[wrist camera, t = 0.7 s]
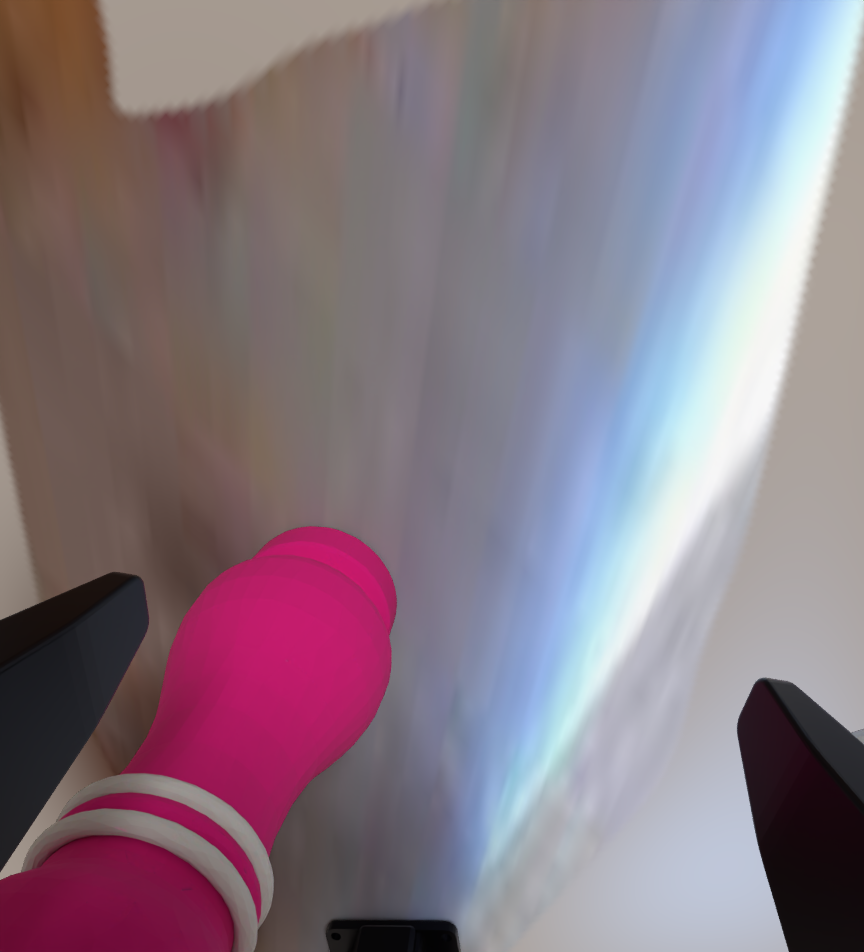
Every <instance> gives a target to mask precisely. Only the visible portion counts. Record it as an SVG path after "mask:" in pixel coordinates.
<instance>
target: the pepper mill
mask: <svg viewBox="0 0 864 952" xmlns="http://www.w3.org/2000/svg"><path fill="white" fill-rule="evenodd" d="M396 607H397V598H396V591H395V587H394V583H393V580H392V578H391V576H390V574H389V571H388V570H387V568H386V567H385V565H384V564H383V562H382V561H381V559H380V558H379V557H378V556H377V555H376V554H375V553H374V552H373V551H372V550H371V549H370V548H369V547H368V546H367V545H365V544H364V543H363V542H361V541H360V540H359V539H357V538H355V537H353V536H351V535H349V534H346V533H344V532H342V531H339V530H336V529H332V528H327V527H312V526H309V527H301V528H296V529H293V530H289V531H286V532H284V533H282V534H280V535H278V536H277V537H275V538H273V539H272V540H270V541H269V542H268V543H267V544H266V545H265V546H263V547H262V549H261V550H260V551H259V552H258V553H257V554H256V555H255V556H254V557H253V558H252V559H251V560H246V561H244V562H242V563H240V564H237V565H235V566H233V567H231V568H230V569H228V570H226V571H225V572H223V573H222V574H220V575H219V576H218V577H217V578H216V579H214V580H213V581H212V582H211V583H210V584H208V585H207V587H206V588H205V589H204V591H203V592H202V593H201V595H200V596H199V597H198V599H197V600H196V601H195V603H194V604H193V605H192V607H191V608H190V609H189V611H188V612H187V614H186V615H185V616H184V619H183V621H182V623H181V625H180V627H179V629H178V632H177V634H176V637H175V639H174V642H173V644H172V647H171V649H170V653H169V657H168V661H167V665H166V670H165V676H164V681H163V686H162V691H161V696H160V701H159V705H158V710H157V714H156V717H155V719H154V722H153V724H152V726H151V728H150V731H149V733H148V735H147V738H146V739H145V741H144V742H143V744H142V745H141V747H140V748H139V750H138V751H137V753H136V754H135V756H134V757H133V759H132V760H131V762H130V763H129V765H128V766H127V767H126V768H125V769H124V770H123V771H122V772H121V773H120V774H119V775H117V776H111V777H107V778H104V779H102V780H99V781H97V782H94V783H92V784H90V785H88V786H87V787H85V788H84V789H82V790H80V791H79V792H78V793H77V794H76V795H75V796H74V797H72V798H71V799H70V800H69V801H68V802H67V804H66V805H65V807H64V808H63V810H62V812H61V813H60V815H59V817H58V819H57V821H56V823H55V824H53V825H52V826H50V827H49V828H47V829H46V830H45V831H44V832H43V833H42V834H41V835H40V836H39V837H38V838H37V839H36V840H35V842H34V843H33V845H32V846H31V847H30V849H29V851H28V853H27V855H26V857H25V860H24V863H23V867H22V870H21V873H18V874H14V875H10V876H8V877H6V878H4V879H2V880H0V952H254V949H255V947H256V943H257V930H258V929H259V927H260V926H261V925H262V923H263V922H264V920H265V919H266V917H267V914H268V912H269V910H270V907H271V904H272V898H273V891H274V877H273V871H272V866H271V863H270V860H269V855H270V852H271V849H272V846H273V843H274V840H275V837H276V835H277V833H278V831H279V829H280V827H281V825H282V823H283V821H284V819H285V817H286V816H287V814H288V812H289V810H290V808H291V806H292V804H293V803H294V802H295V800H296V799H297V798H298V796H299V795H300V794H301V792H302V791H303V790H304V788H305V787H306V786H307V784H308V783H309V782H310V781H311V780H312V779H313V778H314V777H316V776H317V775H318V774H320V773H321V772H322V771H324V770H325V769H327V768H328V767H329V766H330V765H332V764H333V763H334V762H335V761H336V760H338V759H339V758H340V757H341V756H342V755H343V754H344V753H345V752H346V751H348V750H349V749H350V748H351V747H352V746H353V745H354V744H355V742H356V741H357V740H358V739H359V737H360V736H361V735H362V734H363V733H364V731H365V730H366V729H367V728H368V726H369V725H370V723H371V721H372V720H373V718H374V717H375V715H376V712H377V710H378V708H379V706H380V703H381V701H382V699H383V696H384V694H385V691H386V688H387V686H388V683H389V678H390V672H391V645H390V639H389V635H390V632H391V629H392V626H393V623H394V619H395V615H396Z"/></svg>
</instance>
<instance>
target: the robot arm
mask: <svg viewBox="0 0 864 952" xmlns="http://www.w3.org/2000/svg"><path fill="white" fill-rule="evenodd" d="M148 625H149V614H148V608H147V601H146V594H145V588H144V583H143V580H142V579H141V578H140V577H139V576H137V575H132V574H126V573H120V572H112V573H109V574H106V575H104V576H102V577H99V578H97V579H95V580H92V581H90V582H88V583H85V584H83V585H81V586H78V587H76V588H74V589H71V590H69V591H67V592H64V593H62V594H60V595H57V596H55V597H53V598H51V599H48V600H46V601H44V602H41V603H39V604H37V605H34V606H32V607H30V608H27V609H25V610H23V611H20V612H18V613H16V614H13V615H11V616H9V617H6V618H4V619H2V620H0V872H1V870H2V869H3V867H4V866H5V864H6V863H7V861H8V860H9V858H10V857H11V855H12V853H13V852H14V851H15V849H16V848H17V846H18V845H19V843H20V842H21V840H22V839H23V837H24V836H25V834H26V833H27V831H28V830H29V828H30V826H31V825H32V823H33V822H34V821H35V819H36V818H37V816H38V814H39V813H40V812H41V810H42V809H43V807H44V805H45V804H46V802H47V801H48V799H49V798H50V796H51V795H52V793H53V792H54V790H55V789H56V787H57V786H58V784H59V783H60V781H61V780H62V778H63V777H64V775H65V774H66V772H67V771H68V769H69V768H70V766H71V765H72V763H73V762H74V760H75V759H76V757H77V756H78V754H79V753H80V751H81V750H82V748H83V746H84V745H85V744H86V742H87V741H88V739H89V738H90V736H91V734H92V733H93V731H94V730H95V728H96V726H97V725H98V723H99V721H100V720H101V718H102V716H103V714H104V712H105V711H106V709H107V707H108V705H109V703H110V701H111V699H112V697H113V696H114V694H115V692H116V690H117V688H118V686H119V684H120V682H121V680H122V678H123V677H124V675H125V673H126V671H127V669H128V667H129V665H130V663H131V661H132V659H133V658H134V656H135V654H136V652H137V650H138V648H139V646H140V644H141V642H142V640H143V639H144V637H145V634H146V632H147V629H148ZM737 734H738V740H739V746H740V752H741V757H742V762H743V768H744V774H745V779H746V785H747V790H748V795H749V801H750V806H751V812H752V817H753V822H754V828H755V833H756V837H757V842H758V846H759V850H760V854H761V858H762V861H763V865H764V868H765V871H766V875H767V879H768V882H769V885H770V889H771V892H772V896H773V899H774V902H775V905H776V909H777V913H778V916H779V919H780V923H781V926H782V930H783V933H784V936H785V940H786V943H787V947H788V950H789V952H864V744H863V743H862V742H861V741H860V740H859V739H857V738H856V737H855V736H854V735H853V734H852V733H850V732H849V731H848V730H847V729H846V728H845V727H843V726H842V725H841V724H840V723H839V722H838V721H836V720H835V719H834V718H833V717H832V716H831V715H829V714H828V713H827V712H826V711H825V710H824V709H822V708H821V707H820V706H819V705H818V704H817V703H816V702H814V701H813V700H812V699H811V698H810V697H808V696H807V695H806V694H805V693H804V692H803V691H802V690H800V689H799V688H798V687H797V686H796V685H794V684H793V683H791V682H788V681H782V680H777V679H771V678H760V679H758V680H757V681H756V682H755V684H754V686H753V688H752V690H751V692H750V694H749V697H748V698H747V701H746V703H745V705H744V707H743V710H742V711H741V714H740V716H739V719H738V723H737ZM326 937H327V941H328V945H329V949H330V952H461V949H460V943H459V937H458V931H457V928H456V926H455V925H454V924H452V923H450V922H406V921H333V922H331V923H330V924H329V926H328V929H327V933H326Z"/></svg>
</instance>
